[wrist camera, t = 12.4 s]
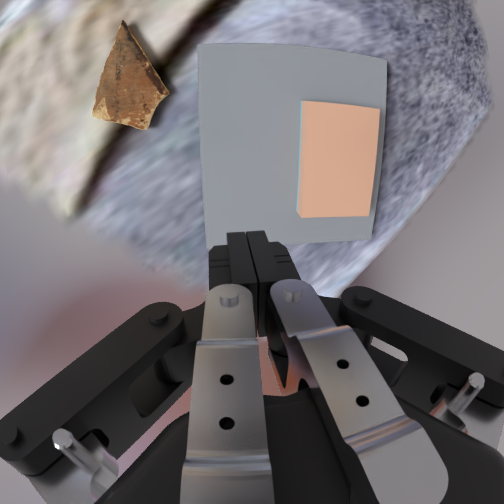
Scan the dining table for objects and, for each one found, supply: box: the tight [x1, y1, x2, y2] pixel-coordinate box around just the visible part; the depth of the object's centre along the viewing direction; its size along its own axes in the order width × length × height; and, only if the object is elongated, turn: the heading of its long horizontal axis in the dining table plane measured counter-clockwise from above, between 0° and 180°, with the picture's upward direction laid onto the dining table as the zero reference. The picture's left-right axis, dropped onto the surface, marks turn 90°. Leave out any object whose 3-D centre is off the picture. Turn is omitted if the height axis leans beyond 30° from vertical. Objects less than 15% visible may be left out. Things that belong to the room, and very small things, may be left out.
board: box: [198, 43, 387, 250], centre depth 30 cm, size 22×20×1 cm
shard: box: [92, 20, 170, 130], centre depth 24 cm, size 11×8×2 cm
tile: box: [296, 101, 380, 218], centre depth 30 cm, size 12×2×8 cm
